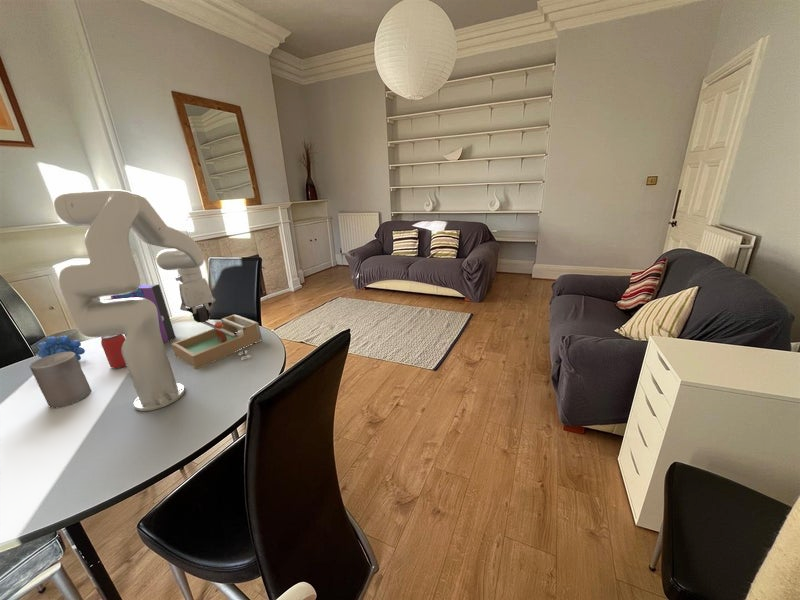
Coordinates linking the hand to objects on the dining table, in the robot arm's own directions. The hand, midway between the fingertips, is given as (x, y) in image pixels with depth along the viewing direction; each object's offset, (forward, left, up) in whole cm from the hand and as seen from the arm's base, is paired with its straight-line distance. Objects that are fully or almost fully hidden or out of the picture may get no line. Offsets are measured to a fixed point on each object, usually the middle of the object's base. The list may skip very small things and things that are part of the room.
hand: (202, 319), depth 135 cm
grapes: (+23, +40, -9) cm, 47 cm away
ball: (-14, -8, -7) cm, 17 cm away
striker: (-12, 0, -6) cm, 13 cm away
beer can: (+5, +28, -9) cm, 30 cm away
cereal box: (+20, +14, -9) cm, 26 cm away
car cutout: (-33, +1, -9) cm, 35 cm away
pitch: (-14, +1, -9) cm, 16 cm away
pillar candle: (-7, +44, -9) cm, 45 cm away
